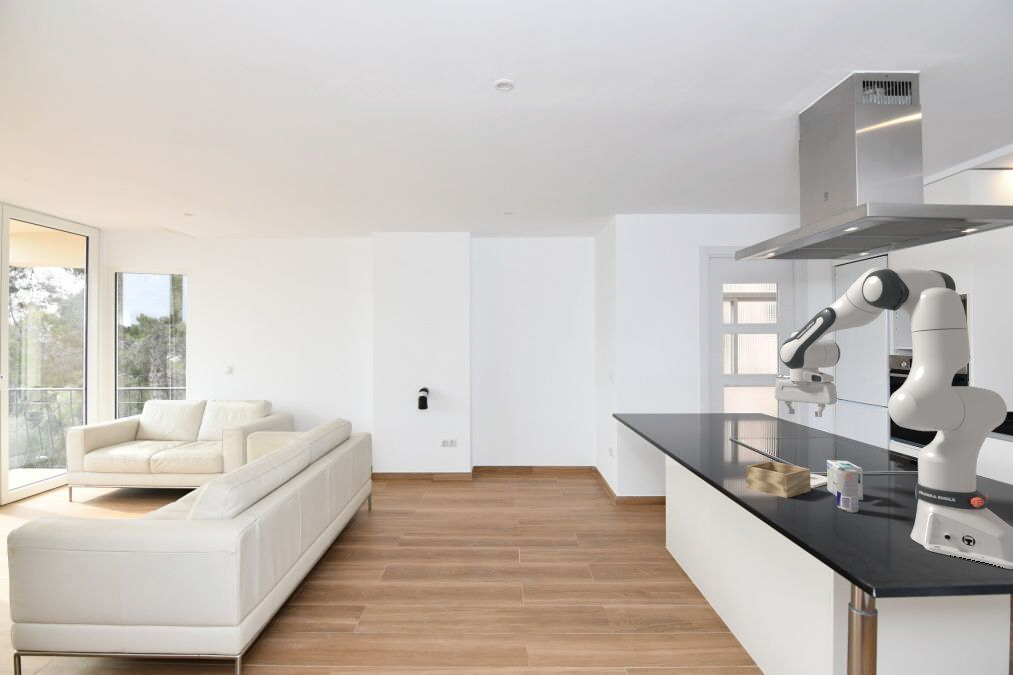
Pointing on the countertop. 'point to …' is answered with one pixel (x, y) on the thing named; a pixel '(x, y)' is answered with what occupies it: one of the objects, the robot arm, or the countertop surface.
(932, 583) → the countertop surface
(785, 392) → the robot arm
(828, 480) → the light bulb box
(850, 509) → the energy drink
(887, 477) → the countertop surface
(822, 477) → the lid
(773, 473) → the box
